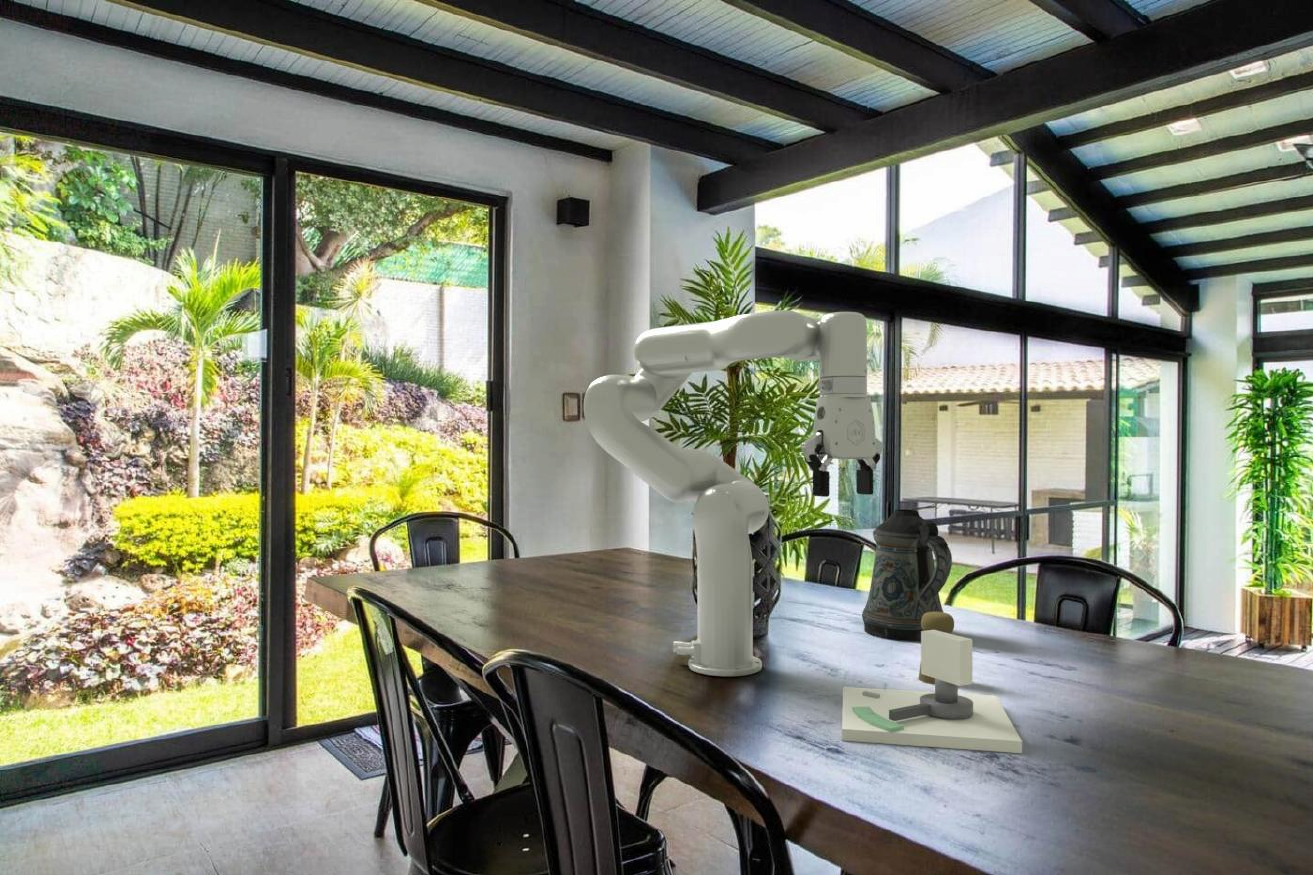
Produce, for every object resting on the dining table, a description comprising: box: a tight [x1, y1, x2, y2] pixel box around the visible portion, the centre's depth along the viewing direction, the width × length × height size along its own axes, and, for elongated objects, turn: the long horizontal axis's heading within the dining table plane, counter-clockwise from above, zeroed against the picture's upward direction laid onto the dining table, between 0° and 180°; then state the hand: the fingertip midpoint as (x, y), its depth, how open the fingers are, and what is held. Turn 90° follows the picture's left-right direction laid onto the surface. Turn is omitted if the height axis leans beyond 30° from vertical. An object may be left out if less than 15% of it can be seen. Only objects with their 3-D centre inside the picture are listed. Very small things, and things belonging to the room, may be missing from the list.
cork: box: [918, 611, 955, 685], centre depth 143 cm, size 6×6×11 cm
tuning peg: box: [889, 630, 973, 721], centre depth 119 cm, size 14×7×10 cm, turn 118°
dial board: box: [841, 686, 1023, 754], centre depth 121 cm, size 22×20×2 cm
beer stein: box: [861, 509, 953, 642], centre depth 178 cm, size 16×19×25 cm
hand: (843, 495), depth 142 cm, fingers open, 9 cm apart
